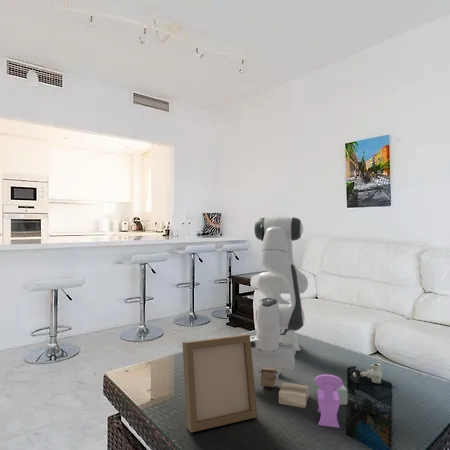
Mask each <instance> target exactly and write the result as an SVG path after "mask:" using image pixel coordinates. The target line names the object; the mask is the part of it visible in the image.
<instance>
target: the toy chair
mask: <svg viewBox="0 0 450 450" xmlns="http://www.w3.org/2000/svg"><path fill="white" fill-rule="evenodd" d="M314 381H315V382H314V384H315V385H316V386H317V387H319V388H317V391H316V394H317V404H318V408H317V412H318V413H320V418H319V421H318V426H324V427H331V428H338V429H339V428H340V424H339V420H338V412H339V409H340V404H339V396H338V391H335V390H337V389H339V388H340V387H341V386H342V384H343V380H342V378H341V377H339V376H337V375H334V374H326V373H325V374H319V375H317V376H316V377H315V378H314Z"/></svg>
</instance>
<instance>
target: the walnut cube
mask: <svg viewBox="0 0 450 450" xmlns="http://www.w3.org/2000/svg"><path fill="white" fill-rule="evenodd" d="M260 372H261V378H260V386H262V387H270V388H274V387H275V383H276V380H274V375H275V373H276V370H275V368H267V367H261V371H260Z"/></svg>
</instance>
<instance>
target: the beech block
mask: <svg viewBox="0 0 450 450" xmlns="http://www.w3.org/2000/svg"><path fill="white" fill-rule="evenodd" d="M308 399H309V385H305V384H297V383H291V382H288V381H287V382H286V381H283V382H282V384H281V386H280V389H279V392H278V404H281V405H287V406H292V407H297V408H303V409H306V406H307V402H308Z"/></svg>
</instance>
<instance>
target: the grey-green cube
mask: <svg viewBox="0 0 450 450" xmlns="http://www.w3.org/2000/svg"><path fill="white" fill-rule="evenodd" d="M335 391H338V396H339V405H348V389H347V387H346V386H345V385H344V384H343V383H342V386H341V387H340V388H339V389H337V390H335Z"/></svg>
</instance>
